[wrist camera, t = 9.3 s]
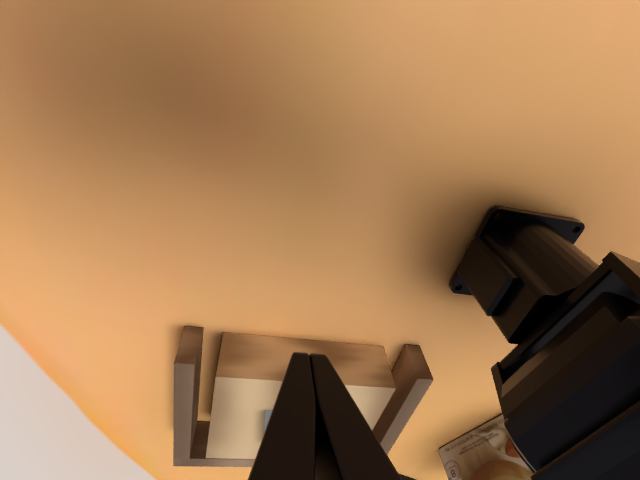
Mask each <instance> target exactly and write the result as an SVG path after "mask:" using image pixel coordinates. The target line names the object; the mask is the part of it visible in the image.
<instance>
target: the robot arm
mask: <svg viewBox="0 0 640 480" xmlns="http://www.w3.org/2000/svg"><path fill="white" fill-rule="evenodd" d="M497 213H499V214H498V215H497V216H496V217H494V216H495V215H496V214H497ZM584 228H585V226H584V224H583V223H582V222H580V221H579V220H576V219H571V218H565V217H559V216H553V215H548V214H542V213H536V212H530V211H525V210H519V209H513V208H508V207H502V206H494V207H492V208H491V209H489V211H488V212H487V214H486V216H485V218H484V220H483V221H482V223H481V225H480V227H479V229H478V231H477V233H476V235H475V236H474V238H473V240H472V242H471V244H470V245H469V247H468V249H467V251H466V253H465V255H464V257H463V259H462V260H461V262H460V264H459V266H458V268H457V270H456V272H455V274H454V276H453V278H452V279H451V281H450V283H449V287H450V289H451V290H452V292H453V293H458V294H466V295H473V296H474V297H475V299H476V300H477V302H478V303H479V305H480V306H481V308H482V309H483V311H484V312H485V314H486V315H487V316H491V317H492V319H493V320H494V322H495V323H496V324H497V326H498V327H499V329H500V330H501V332H502V333H503V335H504V336H505V338H506V339H507V341H508V342H509V343H511V344H518V345H517V346H516V347H515V348H514V349H513V350H512V351H511V352H510V353H509V354H508V355H507V356H506V357H505V358H504V359H503V360H502V361H501V362H497V363H496V364H495V365H494V366H493V367H492V368H491V371H492V375H493V379H494V383H495V386H496V390H497V394H498V398H499V402H500V406H501V409H502V413H503V417H504V426H505V430H506V431H507V433H508V435H509V438H510V440H511V442H512V444H513V447H514V449H515V450H516V451H517V453H518V454H519V456H520V457H521V459H522V460H523V461H524V462H525V464H526V465H527V466H528V467H529V468H530V470H531V471H532V472H533V474H532V475H531V480H640V263H639V262H636V261H634V260H631V259H629V258H627V257H624V256H622V255H619V254H617V253H615V252H612V251H611V252H610V253H609V254H608V255H607V256H606V257H605V258H604V259H602V261H603V263H602V264H601V265H598V264H596V263H595V262H594V261H593V260H592V259H590V258H589V257H588V256H587V255H585V254H584V253H583V252H582V251H581V250H579V249H578V248H577V247H576V246H574V245H573V244H574V243H575V242H576V240H577V239H578V237H579V236H580V235H581V233H582V232H583V230H584ZM457 285H459V286H457ZM248 480H402V479H401V477H400V476H399V474H398V472H397V471H396V469H395V467H394V466H393V464H392V462H391V461H390V459H389V458H388V456H387V454H386V453H385V451H384V449H383V448H382V446H381V444H380V443H379V441H378V439H377V438H376V436H375V434H374V433H373V431H372V429H371V428H370V426H369V425H368V423H367V421H366V420H365V418H364V416H363V415H362V413H361V411H360V410H359V408H358V406H357V405H356V403H355V401H354V400H353V398H352V397H351V395H350V393H349V392H348V390H347V388H346V387H345V385H344V383H343V382H342V380H341V378H340V377H339V375H338V373H337V372H336V370H335V369H334V367H333V365H332V364H331V362H330V360H329V359H328V357H327V356H326V355H325V354H320V353H310V354H308V353H306V352H293V353H292V356H291V358H290V361H289V364H288V367H287V370H286V373H285V375H284V378H283V381H282V384H281V387H280V390H279V393H278V395H277V398H276V401H275V404H274V407H273V410H272V413H271V415H270V418H269V421H268V424H267V427H266V430H265V432H264V435H263V438H262V441H261V444H260V447H259V450H258V452H257V455H256V458H255V461H254V464H253V467H252V470H251V472H250V475H249V478H248Z"/></svg>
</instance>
